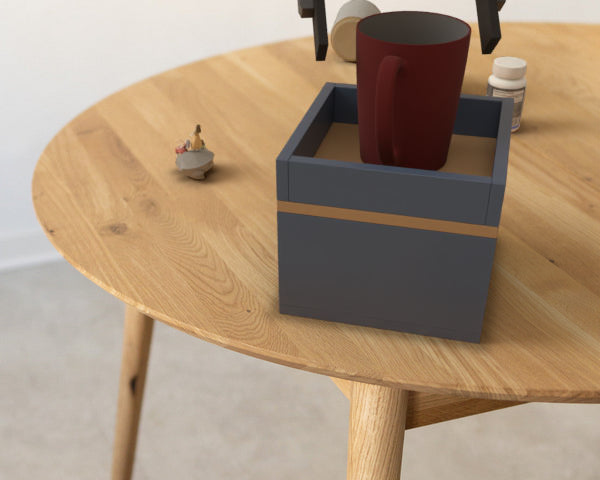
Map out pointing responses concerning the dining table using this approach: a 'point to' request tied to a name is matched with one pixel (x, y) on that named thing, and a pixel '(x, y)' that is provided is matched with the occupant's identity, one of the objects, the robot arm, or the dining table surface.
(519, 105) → the pill bottle
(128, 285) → the dining table surface
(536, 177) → the dining table surface
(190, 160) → the figurine
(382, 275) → the box
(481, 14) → the robot arm
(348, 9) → the ceramic mug
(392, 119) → the mug
